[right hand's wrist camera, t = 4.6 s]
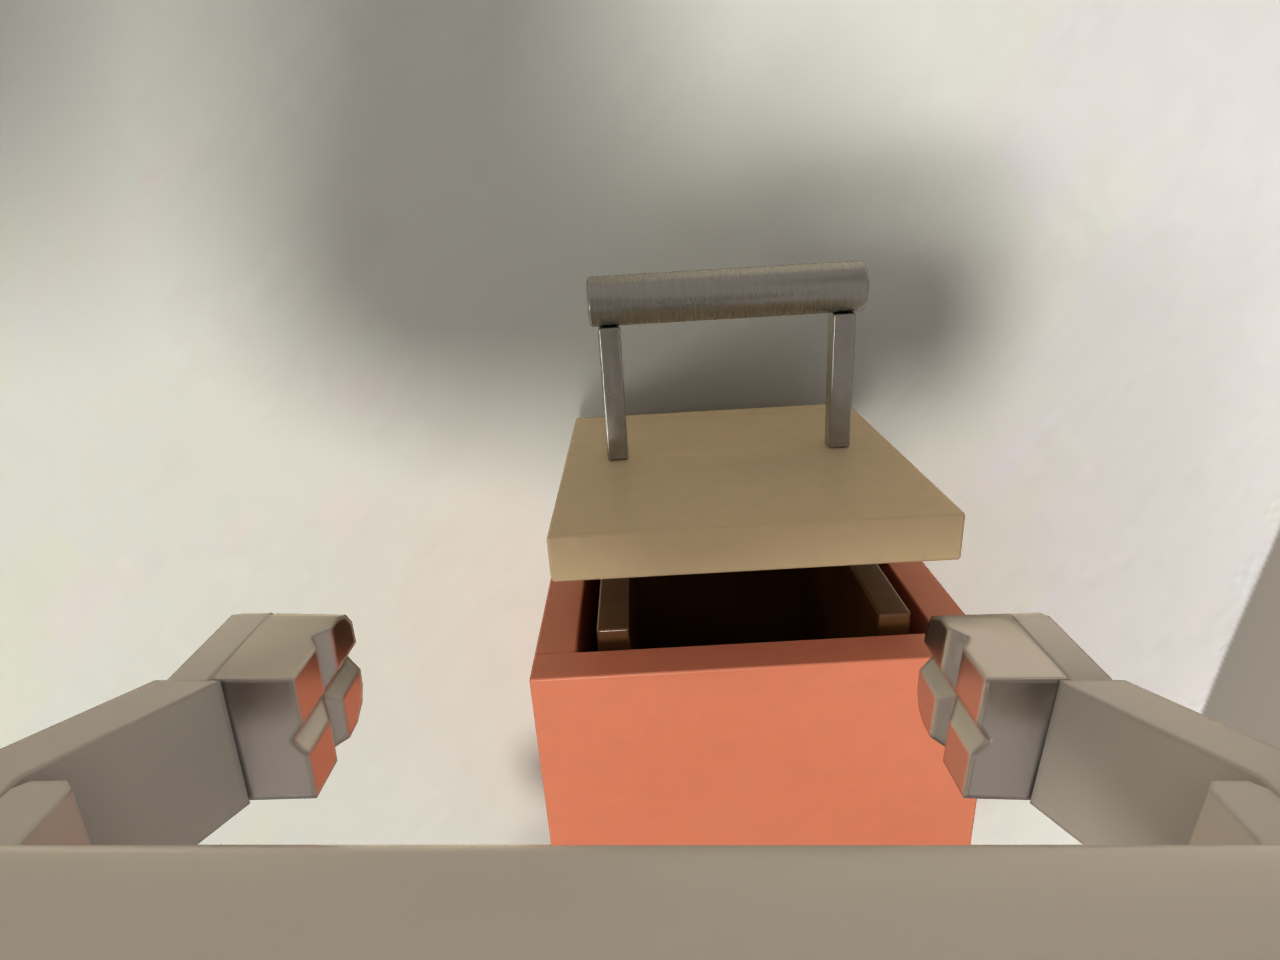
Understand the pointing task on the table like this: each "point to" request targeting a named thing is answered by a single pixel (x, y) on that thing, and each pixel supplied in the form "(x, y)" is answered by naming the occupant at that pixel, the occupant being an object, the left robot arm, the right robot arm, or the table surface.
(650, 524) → the drawer
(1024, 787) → the right robot arm
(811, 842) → the orange storage bin
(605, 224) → the table surface
